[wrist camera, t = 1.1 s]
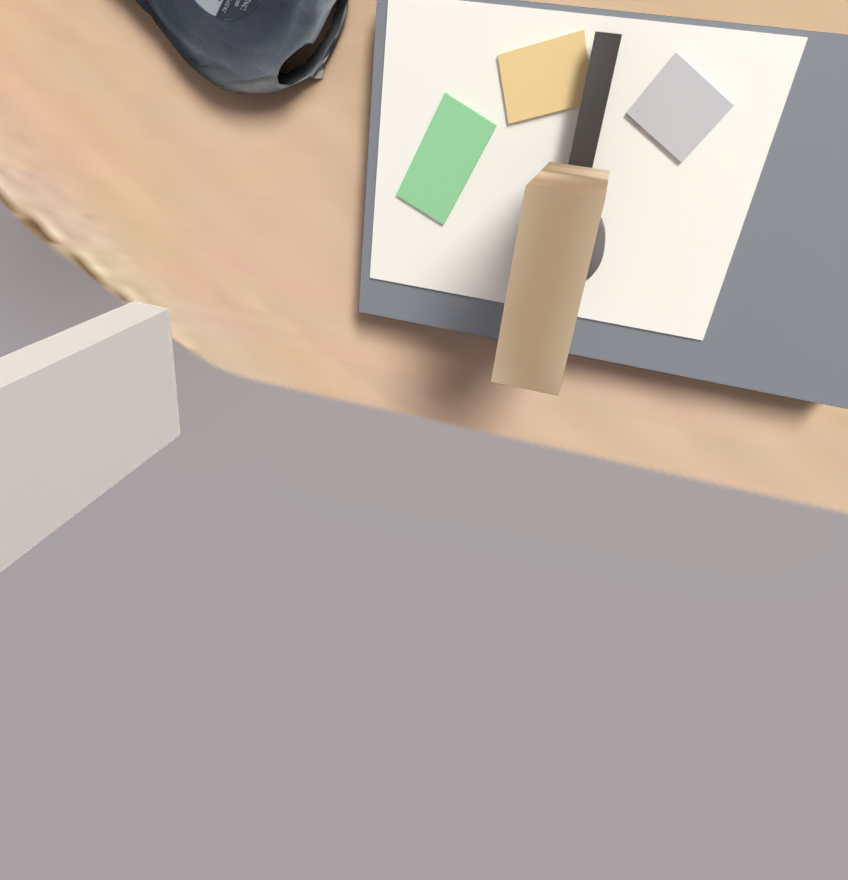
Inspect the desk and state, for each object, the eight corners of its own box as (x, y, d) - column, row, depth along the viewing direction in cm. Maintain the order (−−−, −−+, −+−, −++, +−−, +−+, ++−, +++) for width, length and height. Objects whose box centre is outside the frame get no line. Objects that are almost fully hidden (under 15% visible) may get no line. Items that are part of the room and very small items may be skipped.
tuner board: (372, 300, 33) (356, 313, 31) (393, -8, 26) (374, -16, 24) (834, 390, 29) (849, 412, 27) (993, 55, 22) (1029, 52, 20)
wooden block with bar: (515, 301, 29) (475, 378, 21) (564, 30, 23) (537, 2, 16) (587, 314, 28) (573, 399, 20) (654, 40, 23) (670, 16, 15)
